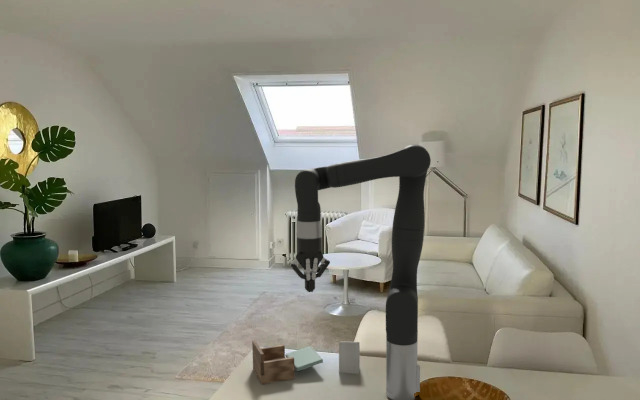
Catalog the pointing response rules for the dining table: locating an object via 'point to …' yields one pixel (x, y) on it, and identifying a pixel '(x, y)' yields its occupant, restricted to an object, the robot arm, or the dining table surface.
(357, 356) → the grey wedge block
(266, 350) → the brown wooden open box
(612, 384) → the dining table surface
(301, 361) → the panel
